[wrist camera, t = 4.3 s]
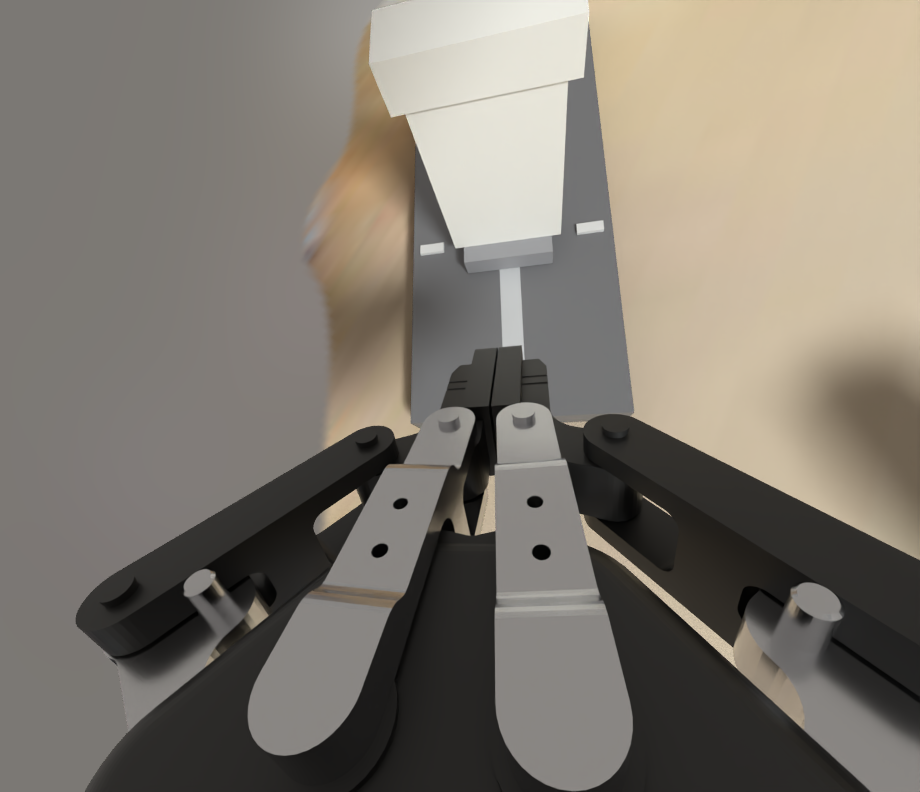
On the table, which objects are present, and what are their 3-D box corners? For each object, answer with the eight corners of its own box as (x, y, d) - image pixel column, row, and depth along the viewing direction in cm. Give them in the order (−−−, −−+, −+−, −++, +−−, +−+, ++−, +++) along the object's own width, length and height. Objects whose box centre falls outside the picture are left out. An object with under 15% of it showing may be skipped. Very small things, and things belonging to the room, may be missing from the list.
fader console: (582, 18, 30) (584, -20, 28) (626, 419, 23) (635, 411, 21) (425, 54, 32) (416, 23, 30) (421, 428, 25) (408, 422, 23)
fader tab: (565, 201, 25) (580, -64, 13) (570, 261, 24) (591, 32, 12) (451, 218, 26) (372, -7, 14) (451, 275, 25) (367, 83, 13)
